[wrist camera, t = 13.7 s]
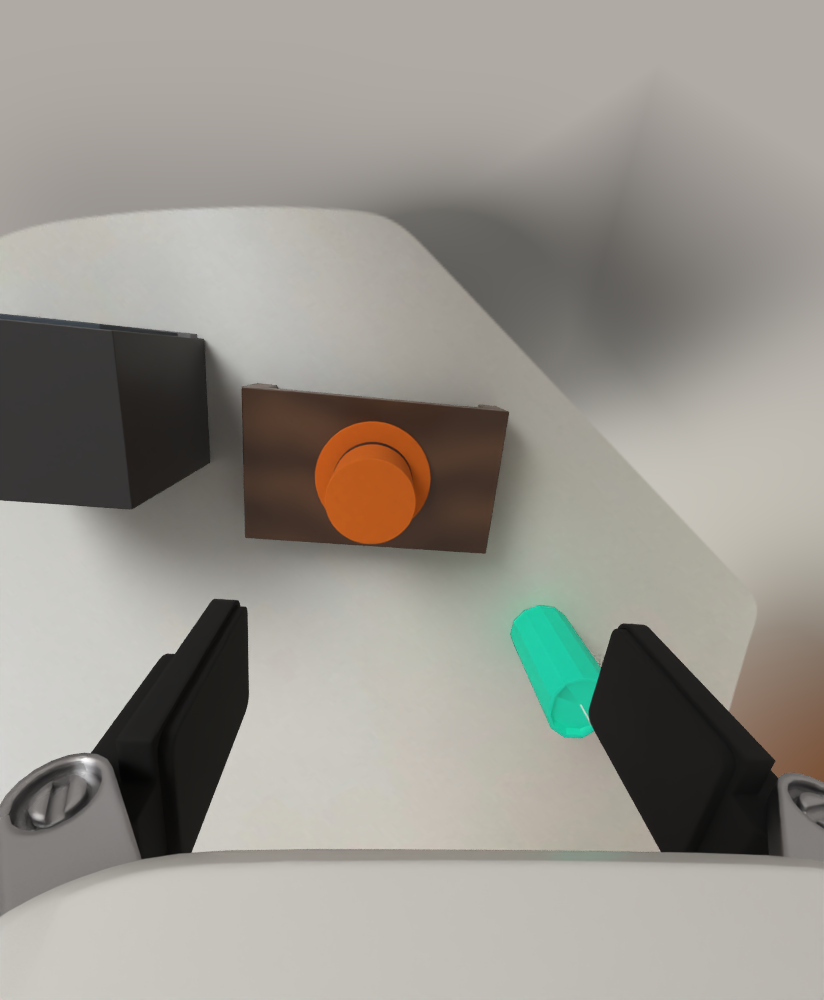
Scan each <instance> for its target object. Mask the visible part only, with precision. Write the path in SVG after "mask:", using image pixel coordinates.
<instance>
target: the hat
mask: <svg viewBox="0 0 824 1000" xmlns="http://www.w3.org/2000/svg"><path fill="white" fill-rule="evenodd" d="M430 480H431V476H430V468H429V463H428V461H427V458H426V455H425V453H424V451H423V450H422V448H421V447H420V445H419V444H418V442H417V441H416V440H415V439H414V438H413V437H412V436H411V435H409V434H408V433H407V432H405V431H404V430H402V429H400V428H399V427H396V426H394V425H391V424H388V423H384V422H377V421H368V422H361V423H356V424H353V425H351V426H348V427H346V428H344V429H342V430H341V431H339V432H338V433H337V434H335V435H334V436H333V437H332V438H331V439H330V440H329V441H328V442H327V444H326V445H325V446H324V448H323V450H322V451H321V453H320V455H319V458H318V460H317V464H316V469H315V484H316V490H317V493H318V496H319V498H320V501H321V503H322V504H323V506H324V508H325V509H326V512H327V515H328V517H329V519H330V521H331V523H332V524H333V526H334V527H335V528H336V529H337V530H338V531H339V532H340V533H341V534H342V535H344V536H345V537H347V538H349V539H350V540H353V541H355V542H359V543H363V544H379V543H383V542H386V541H389V540H391V539H393V538H395V537H397V536H398V535H400V534H401V533H402V532H403V531H404V530H405V529H406V528H407V527H408V525H409V524H410V522H411V520H412V518H414V517H415V516H416V514H417V513H418V512H419V511H420V510H421V508H422V506H423V505H424V503H425V501H426V499H427V496H428V493H429V489H430Z"/></svg>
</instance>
